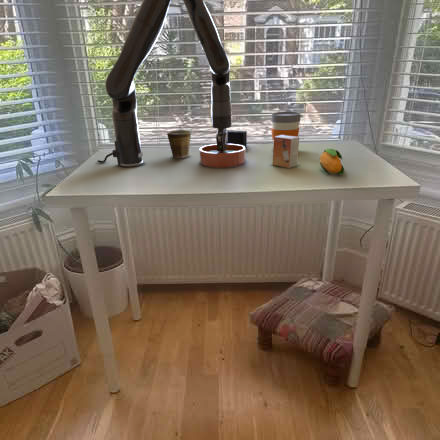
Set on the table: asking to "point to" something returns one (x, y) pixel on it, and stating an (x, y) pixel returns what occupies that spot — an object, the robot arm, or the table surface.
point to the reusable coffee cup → (285, 124)
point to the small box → (285, 151)
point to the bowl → (222, 156)
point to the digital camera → (237, 137)
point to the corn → (331, 161)
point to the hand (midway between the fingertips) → (222, 159)
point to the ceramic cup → (179, 143)
